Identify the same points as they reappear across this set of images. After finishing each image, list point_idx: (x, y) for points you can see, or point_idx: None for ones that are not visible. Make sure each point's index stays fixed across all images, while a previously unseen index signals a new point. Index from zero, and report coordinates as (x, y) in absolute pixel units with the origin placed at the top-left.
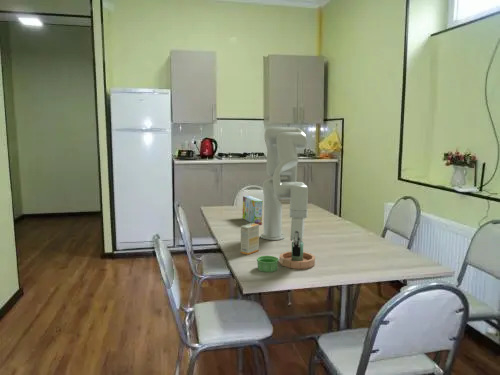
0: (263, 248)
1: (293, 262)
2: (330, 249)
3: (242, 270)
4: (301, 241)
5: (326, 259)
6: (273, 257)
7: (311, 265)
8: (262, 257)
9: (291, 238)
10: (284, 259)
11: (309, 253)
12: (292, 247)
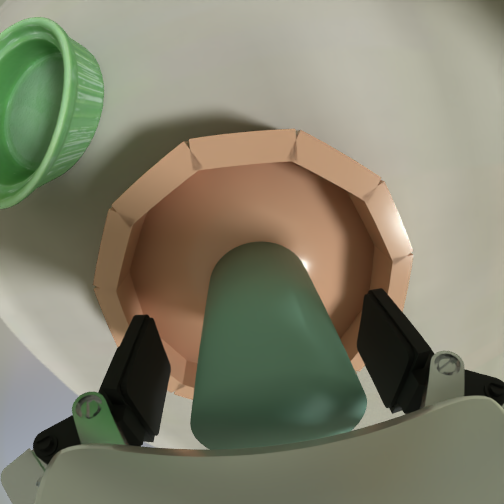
0: (478, 16)
1: (103, 304)
2: (484, 352)
3: (9, 16)
4: (398, 406)
5: (365, 390)
6: (58, 122)
7: None
8: (48, 32)
9: (45, 480)
10: (109, 223)
11: (361, 364)
12: (217, 344)
